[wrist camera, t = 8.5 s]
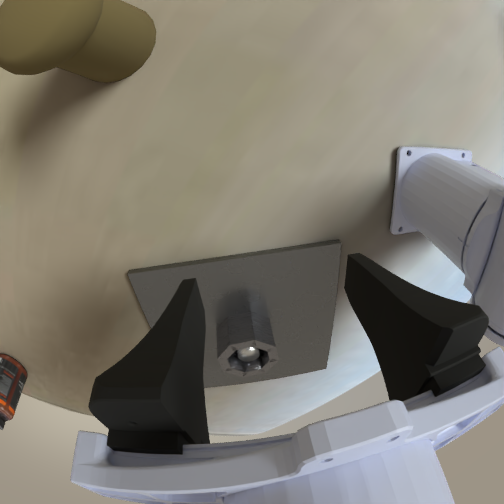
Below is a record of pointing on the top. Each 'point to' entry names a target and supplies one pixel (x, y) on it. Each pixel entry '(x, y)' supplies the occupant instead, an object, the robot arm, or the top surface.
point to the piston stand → (257, 303)
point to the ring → (246, 344)
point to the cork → (75, 37)
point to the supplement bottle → (10, 387)
